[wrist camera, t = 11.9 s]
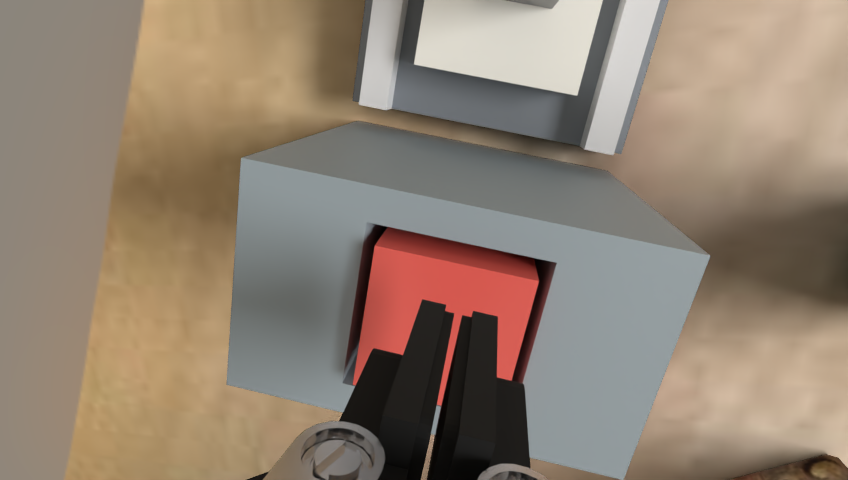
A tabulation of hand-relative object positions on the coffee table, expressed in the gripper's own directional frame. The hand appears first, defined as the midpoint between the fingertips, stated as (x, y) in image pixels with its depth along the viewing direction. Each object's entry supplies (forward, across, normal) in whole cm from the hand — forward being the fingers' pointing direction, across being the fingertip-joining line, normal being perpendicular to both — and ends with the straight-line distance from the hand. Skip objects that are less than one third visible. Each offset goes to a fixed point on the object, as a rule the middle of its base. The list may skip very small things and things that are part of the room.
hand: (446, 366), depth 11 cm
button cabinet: (+15, 0, +1) cm, 15 cm away
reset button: (+6, 0, +1) cm, 6 cm away
